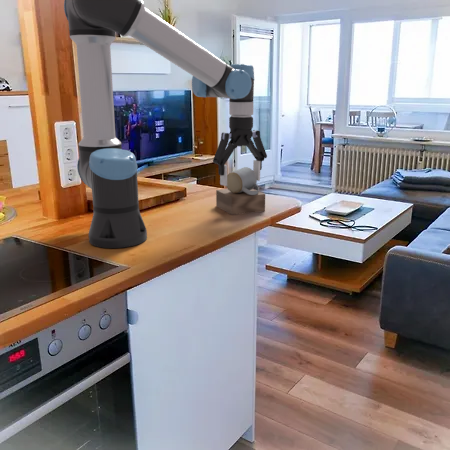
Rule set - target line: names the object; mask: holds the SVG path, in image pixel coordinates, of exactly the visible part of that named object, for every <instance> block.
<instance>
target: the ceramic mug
mask: <svg viewBox="0 0 450 450" xmlns="http://www.w3.org/2000/svg"><path fill="white" fill-rule="evenodd" d="M257 182H258V181H257V178H256V175H255V173H254V171H253V168H250V167H249V166H244V167H241V168H239V169H235V170H232V171H231V172H229V173H227V186H226V189H228V190H229V191H230V192H232V193H241V192H245V193H247V194H249V195H256V194H258V192H260V187H259V185H258V184H257ZM252 189H255V190H257V191H251V190H252Z"/></svg>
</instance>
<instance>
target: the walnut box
mask: <svg viewBox="0 0 450 450" xmlns="http://www.w3.org/2000/svg"><path fill="white" fill-rule="evenodd" d="M251 191H257V190H256V189H255V188H253V189H252V190H251ZM215 194H216V196H215V197H216V198H215V199H216V200H215V201H216V204H215V205H216V206H215V207H217V208H218V209H221V210H222V211H224V213H225V212H226V213H228V214H229V215H231V216H235V215H243V214H251V213H260V212H266V193H264V192H261V191H259V192H258V194H256V195H249V194H247V193H245V192H241V193H232V192H230V191H229V190H228V188H223V189H216V193H215Z"/></svg>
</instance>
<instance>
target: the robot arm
mask: <svg viewBox="0 0 450 450" xmlns="http://www.w3.org/2000/svg"><path fill="white" fill-rule="evenodd" d="M63 1H64V3H63V9H64V11H63V12H64V14H65V17H66V19H67V22H68V30H69V33H68V34H69V38H70V39H71V40H72V42H74V43H75V45H76V56H77V68H78V69H77V71H78V82H79V83H78V84H79V97H80V108H81V120H82V121H81V122H82V123H81V124H82V133H83V134H82V136H83V137H82V139H81V140H80V141H79V142H78V154H79V155H78V159H77V166H76V167H77V168H76V169H77V173H78V176H79V178H80V179H81V181H82V183H84V184H85V185H86V186H87V187H88V188H90V189H91V195H92V205H93V215H92V219H91V222H90V227H89V229H88V230H89V231H88V242H89V244H90V245H92V246H94V247H96V248H103V249H121V248H122V249H123V248H129V247H134V246H137V245H140V244H142V243H143V242H145V241H146V240H147V238H148V231H147V228H146V225H145V222H144V220H143V217H142V214H141V212H140V206H139V205H140V204H139V188H138V187H139V186H138V185H139V184H138V164H137V158H136V156H135V154H134V153H133V152H131V150H127V149H122V142H121V140H119V139H118V138H117V137H116V136H117V135H116V123H115V121H116V120H115V107H114V89H113V70H112V54H111V45H112V43H113V42H115V40H116V37H117V36H116V35H117V34H118V35H120V36H121V37H128V36H130V37H131V38H132V39H134V40H136V41H138V42H139V43H140V44H143V45H144V46H146V47H147V48H148V49H150V50H152V51H153V52H155V53H157V54H158V55H159V56H160V57H163V58H164V59H165V60H168V61H169V62H170V63H172V64H174V65H175V66H177V67H179V68H180V69H182V70H183V71H185V72H187V73H188V74H190V75H191V76H192V78H191V89H192V93H193V94H194V95H195V96H196V97H198V98H220V99H221V98H222V99H229V103H228V105H229V115H230V116H229V117H228V121H229V123H228V126H229V130H230V131H229V133H228V132H221V137H220V142H219V144H218V146H217V150H216V152H215V154H214V157H213V159H212V163H214V164H217V165H218V167H217V168H218V169H217V170H218V172H217V173H218V175H219V176H220V177H219V179H220V180H219V184H220V186H224V187H227V175H228V165H227V162H228V160H229V159H230V157H231V156H232V154H233V153H234V151H235V149H237V148H238V147H247V149H248V150H249V152H250V153H251V154H252V157H254V159H253V161H252V162H253V168H252V170H253V171H254V173H255V175H256V178H257V182H258V181H261V170H262V167H263V166H262V165H263V162H264V161H265V159H267V157H268V154H267V151H266V149H265V145H264V144H263V141H262V138H261V132H260V130H257V129H253V128H254V117H253V115H254V98H255V97H254V89H255V88H254V86H255V83H254V82H255V70H254V69H255V68H254V66H253V65H252V64H251V63H235V64H233V63H231V64H230V65H229V64H228V63H226V62H225V61H223V60H221V59H220V58H219V57H217V56H216V55H215V54H214V53H213V52H210V51H209V50H207V49H206V48H205V47H204V46H202V45H200V44H198V43H197V42H195V41H194V40H193V39H191V38H190V37H188V36H187V35H185V33H183V32H181V31H180V30H179V29H177V28H176V27H174V26H173V25H172V24H170V23H169V22H167V21H165V20H164V19H163V18H161V17H160V16H159V15H156V14H155V13H153V12H152V11H151V10H149V9H148V8H147V7H145V4H144V1H143V0H63Z"/></svg>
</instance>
